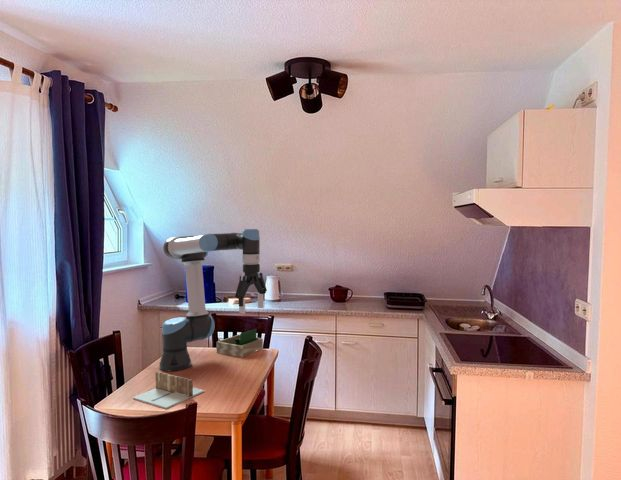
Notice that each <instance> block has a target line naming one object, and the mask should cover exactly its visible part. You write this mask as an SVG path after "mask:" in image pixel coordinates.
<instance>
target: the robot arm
mask: <svg viewBox="0 0 621 480" xmlns="http://www.w3.org/2000/svg"><path fill="white" fill-rule="evenodd" d="M241 232H242V233H241ZM241 232H229V233H228V232H227V233H225V232H224V233H204V234H202V235H185V236H172V237H169V238H168V239H166V240H165V241H164V243H163V245H162V246H163V247H162V249H163V253H164V255H165V256H166V257H167V258H169V259H172V260H181V264H183V265H184V269H185V281H186V294H187V306H188V308H187V309H188V311H187V313H186V314H185V317H181V316H180V317H174V318H170V319H167V320H166V321H164V322H163V323H162V325H161V337H162V338H161V340H162V354H161V358H160V361H159V365H158V366H159V369H160V370H161V371H164V372H174V371H176V372H177V371H182V370H185V369H188V368H190V367H191V366H192V360H191V357H190V354H189V351H188V343H192V342H196V341H201V340H205V339H208V338H210V337H212V335H213V334H214V331H215V319H214V317H213V316H212V315H210V312H209V311H207V309H206V298H205V286H204V274H203V264H204V263H205V260H206V259H205V258H206V257H207V256H208V253H209V252H217V251H232V250H234V251H235V250H242V263H243V264H242V272H243V273H244V275H239V282H238V285H237V287H236V288H237V289H236V291H235V295H234V298H235V299H238V314H242V315H245V314H246V298H245V296H246V294H247V292H248V290H249V288H250V287H251V285H253V286H254V287H255V289H256V290H257V292H258V293H257V309H264V298H265V294H267V291H268V289H267V286H266V283H265V281H264V277H263V272H260V271H261V268H260V267H261V266H260V259H261V258H260V245H261V244H260V242H261V241H260V239H261V238H260V230H259V229H257V228H244V229H242V231H241Z"/></svg>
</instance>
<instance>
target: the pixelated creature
mask: <svg viewBox="0 0 621 480" xmlns="http://www.w3.org/2000/svg"><path fill="white" fill-rule="evenodd" d="M239 335H240V339H235V341H236V342H235V344H236V345H240V346H242V345H245V344H247V343H250V342H253V341H255V340H257V338H258V337H257V329H256V328H255V329H251V330H248V331H244V332H241V333H240V334H239Z"/></svg>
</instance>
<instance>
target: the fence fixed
mask: <svg viewBox="0 0 621 480" xmlns="http://www.w3.org/2000/svg"><path fill="white" fill-rule="evenodd" d="M154 373H155V375H154V376H155V388H156V389H158V388H161V389H165V390H168V391H171V393H175V384H174V377H175V376H176V375H175V374H169V373H164V372H162V371H155V372H154Z"/></svg>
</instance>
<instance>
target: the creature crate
mask: <svg viewBox="0 0 621 480" xmlns="http://www.w3.org/2000/svg"><path fill="white" fill-rule="evenodd" d="M235 339H240V334H236V335H233V336H230V337H227V338H225V339H224V338H223V339H221V340H219V341H216V353H217V354H220V353H222V354H221V355H225V354H227V355H226V356H231V355H232V356H231V357H236V356H237V357H236V358H241V357H242V358H244V356H245V357H246V356H249V354H250V355H252V354H254V353H253V352H255V351H256V350H259V351H261V350H260V349H262V350H264V343H263V342H264V338H262V337H257V340H255V341H253V342H250V343H247V344H245V345H242V346H240V345H236V344H235V342H236V341H235ZM251 353H252V354H251ZM255 353H256V352H255Z"/></svg>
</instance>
